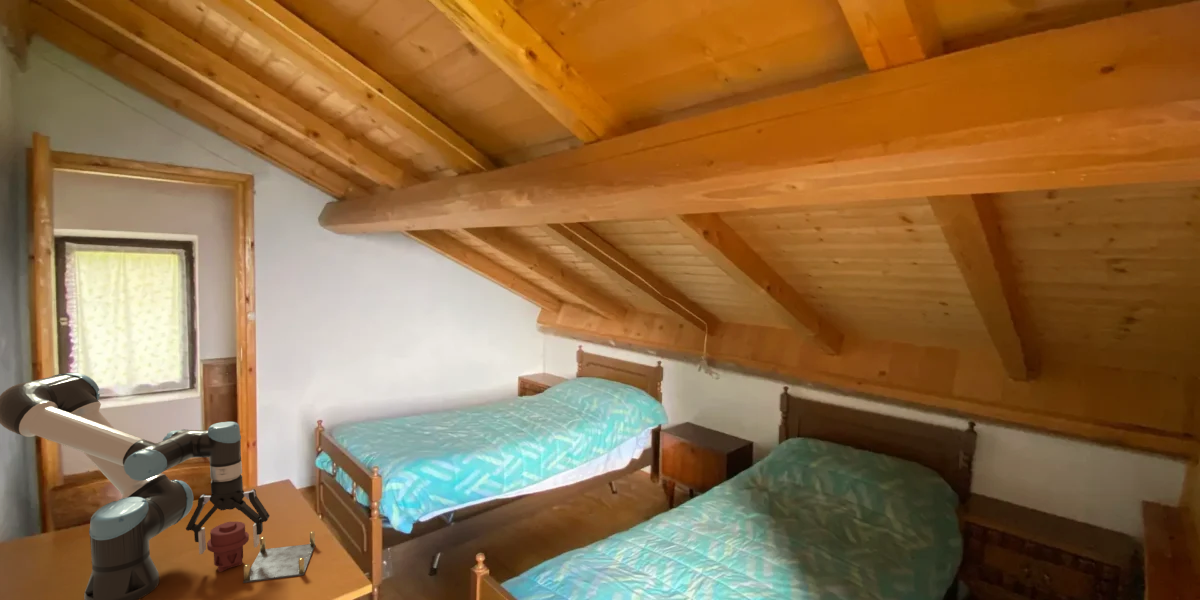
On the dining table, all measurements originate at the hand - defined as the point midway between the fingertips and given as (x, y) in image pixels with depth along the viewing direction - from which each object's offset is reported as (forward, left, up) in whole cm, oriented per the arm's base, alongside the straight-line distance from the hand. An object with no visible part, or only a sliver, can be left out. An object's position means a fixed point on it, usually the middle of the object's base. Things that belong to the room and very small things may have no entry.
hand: (230, 548), depth 163 cm
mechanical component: (0, 0, -5) cm, 5 cm away
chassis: (+14, -2, -5) cm, 15 cm away
